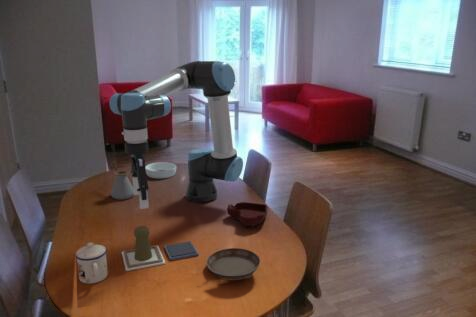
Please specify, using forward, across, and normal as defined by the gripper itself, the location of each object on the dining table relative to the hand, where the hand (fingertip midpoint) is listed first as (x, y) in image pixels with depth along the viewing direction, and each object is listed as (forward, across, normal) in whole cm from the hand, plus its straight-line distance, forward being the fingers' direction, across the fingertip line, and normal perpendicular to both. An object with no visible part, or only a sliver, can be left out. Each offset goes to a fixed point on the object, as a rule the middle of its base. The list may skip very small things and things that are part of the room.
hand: (141, 201), depth 141 cm
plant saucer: (+20, +22, +25) cm, 39 cm away
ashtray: (+21, -13, +47) cm, 53 cm away
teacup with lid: (+20, +11, -18) cm, 29 cm away
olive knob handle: (+19, +4, -1) cm, 20 cm away
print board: (+20, +4, -1) cm, 20 cm away
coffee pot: (+21, -64, -1) cm, 67 cm away
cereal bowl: (+21, -83, +23) cm, 89 cm away
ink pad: (+20, +4, +12) cm, 24 cm away
